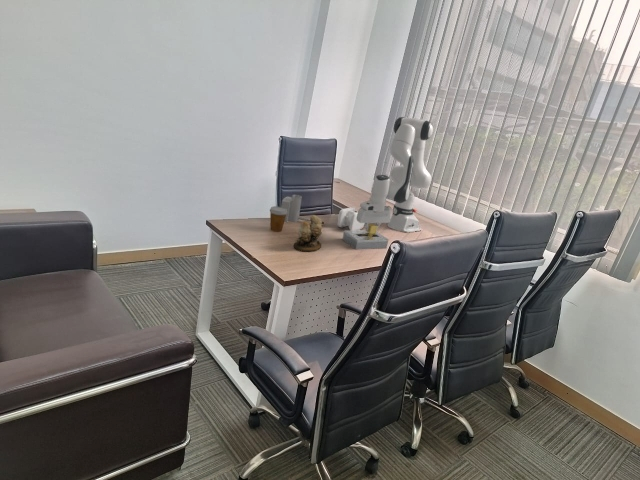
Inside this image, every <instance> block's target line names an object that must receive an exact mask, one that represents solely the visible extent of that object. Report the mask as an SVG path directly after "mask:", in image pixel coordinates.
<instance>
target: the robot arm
mask: <svg viewBox="0 0 640 480" xmlns="http://www.w3.org/2000/svg"><path fill="white" fill-rule="evenodd" d="M393 132H394V136H393V138H392V141H391V145H390V148H389V151H390V152H389V153H390V155H391V156H392V158H393V159H394V160H396V161H397V162H398V163H400V164H401V165H395V166H394V167H392V168H391V170H390V176H388V175H384V174H378V175H376V176H375V177H374V179H373V183H372V187H371V190H370V191H371V192H370V194H371V195H370V197H369V200H367V201H365V202H361V203H360V204H359V207H360V208H359V209H358V210H357V212H358V214H357V218H356V219H357V221H358V222H359V223H365V224H364V227H365V229H364V230H369V229H370V227H368V225H369V224H375V225H376V226H378V227H377V231H378V230H379V227H380V226H381V225H382V224H387V227H389V229H393V230H395V231H398V232H404V233H408V234H409V232H410V233H416V232H415V231H417V232H421V231H422V228H421V227H419V225H420V221H419V219H418V218H417V217H416V215H414V213H415V214H416V213H417V212H418V209H415V208H413V206H414V203H415V194H414V193H413V192H412V191H411V189H410V188H411V187H413V188H416V189H427V188H428V187H430V185H431V183H432V176H431V173H430V172H429V171H428V169H427V168H426V166H425V161H424V159H425V158H424V156H425V149H426V141H428V140H429V139H430V138H431V136H432V135H433V133H434V124H433V123H432V122H431V121H429V120H424V119H421V118H416V117H415V118H414V117H405V116H400V117H398V118H397V119H396V120H395V121H394V124H393ZM390 177H391V180H392V181H391V180H390ZM387 200H390V201H393V202H395V203H394V204H393V209H392V207H391V206H390V205H386V203H387ZM420 230H421V231H420Z"/></svg>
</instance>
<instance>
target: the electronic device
mask: <svg viewBox="0 0 640 480" xmlns="http://www.w3.org/2000/svg"><path fill="white" fill-rule="evenodd" d="M291 195H292V196H286V197H284V198H283V199H282V200H281V204H280V205H281V206H280V207H283V208H286V209H287V214H286V217H285V221H284V223H288V222H293V223H297V222H299V220H302V221H307V222H311V221H310V218H306V217H300V214H301V213H300V212H301V205H302V198H303V197H302V195H299V194H291ZM324 224H325V222H324V221H322V225H324Z"/></svg>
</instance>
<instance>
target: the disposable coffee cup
mask: <svg viewBox="0 0 640 480" xmlns="http://www.w3.org/2000/svg"><path fill="white" fill-rule="evenodd" d="M269 213H270V214H269V215H270V218H269V220H270V224H269V225H270V231H272V232H274V233H275V232H276V233H280V232H282V231H283V228H284V224H285V222H284V221H285V217H286V214H287V209H286V208H283V207H281V206H271V207H270V209H269Z"/></svg>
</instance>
